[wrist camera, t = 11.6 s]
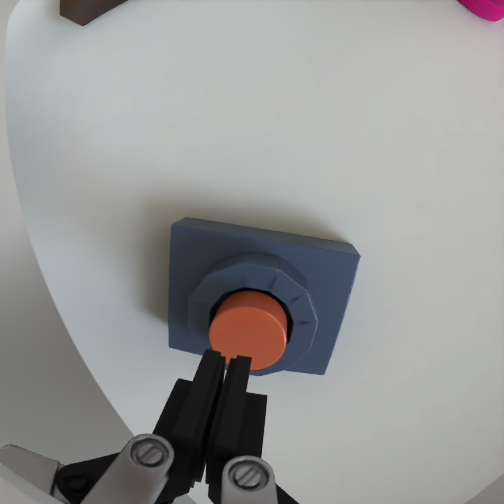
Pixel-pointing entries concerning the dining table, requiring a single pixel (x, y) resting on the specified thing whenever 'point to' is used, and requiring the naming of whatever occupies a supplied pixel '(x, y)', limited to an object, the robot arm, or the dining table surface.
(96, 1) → the dial panel
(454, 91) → the dining table surface
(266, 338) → the button
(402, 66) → the dining table surface
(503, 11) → the pepper mill
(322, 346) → the button box
